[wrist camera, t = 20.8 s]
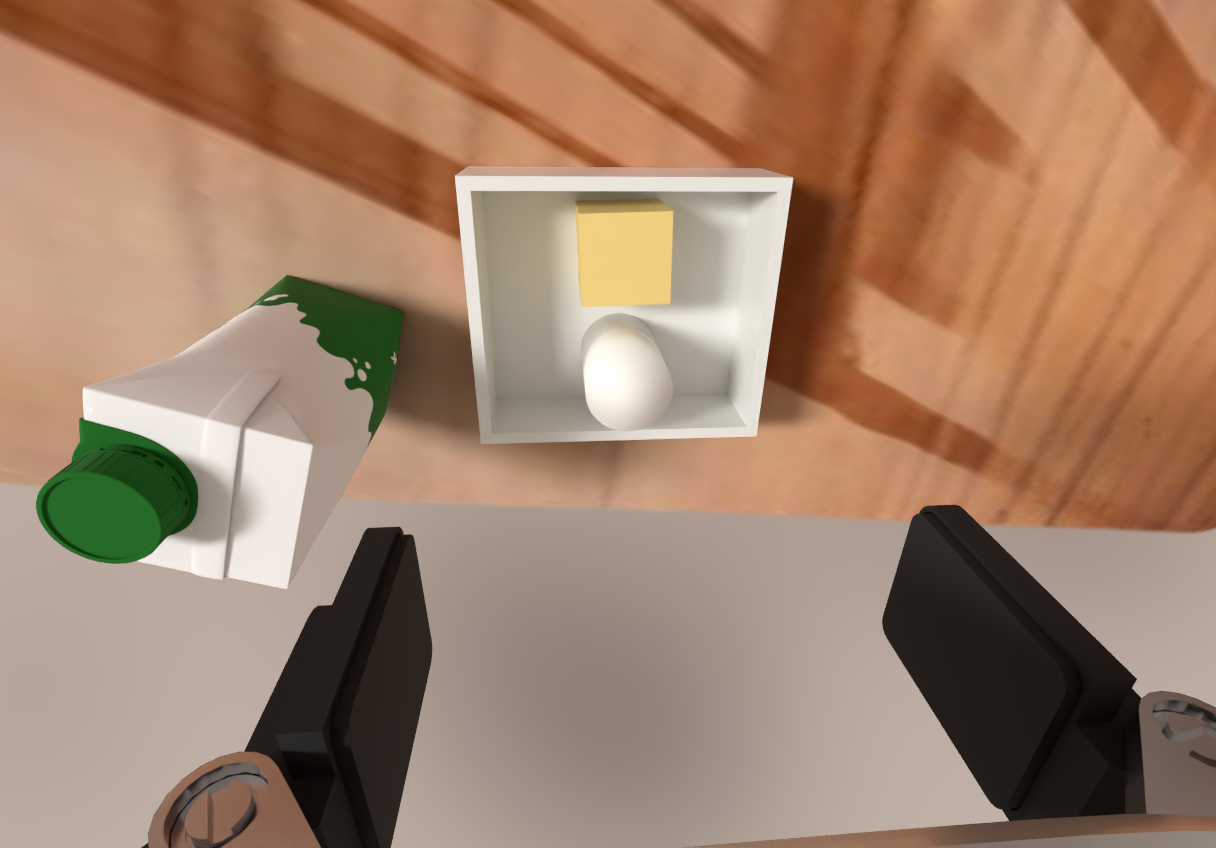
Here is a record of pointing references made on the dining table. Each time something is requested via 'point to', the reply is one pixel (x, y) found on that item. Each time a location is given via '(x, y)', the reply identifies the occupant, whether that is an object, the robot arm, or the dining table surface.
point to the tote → (556, 321)
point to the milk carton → (230, 440)
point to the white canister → (624, 373)
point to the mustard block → (624, 252)
